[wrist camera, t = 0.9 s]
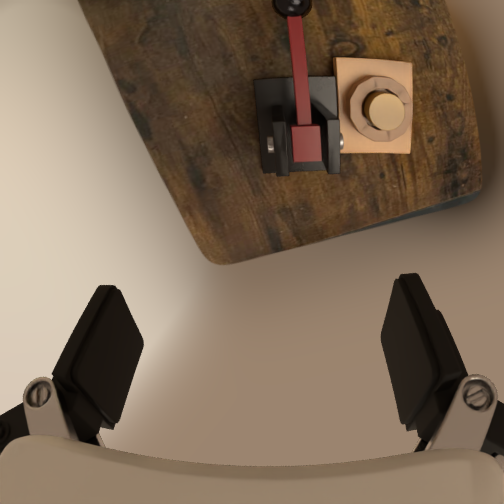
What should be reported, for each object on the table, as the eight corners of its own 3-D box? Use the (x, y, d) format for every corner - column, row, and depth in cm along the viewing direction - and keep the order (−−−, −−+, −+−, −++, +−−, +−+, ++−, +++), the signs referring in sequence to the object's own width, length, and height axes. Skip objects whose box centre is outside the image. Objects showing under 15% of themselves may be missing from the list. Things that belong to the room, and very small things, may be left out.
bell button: (363, 90, 26) (368, 92, 24) (398, 92, 25) (405, 94, 24) (364, 126, 28) (369, 130, 26) (398, 127, 27) (404, 131, 26)
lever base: (254, 79, 28) (247, 86, 20) (333, 75, 28) (358, 82, 20) (263, 169, 34) (260, 210, 26) (336, 166, 33) (357, 205, 25)
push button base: (332, 57, 27) (339, 57, 24) (405, 61, 26) (419, 63, 23) (336, 149, 32) (342, 158, 29) (404, 149, 31) (416, 159, 28)
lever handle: (269, -7, 20) (269, -20, 17) (307, -8, 20) (311, -21, 17) (286, 156, 26) (287, 163, 24) (323, 155, 26) (329, 161, 23)
